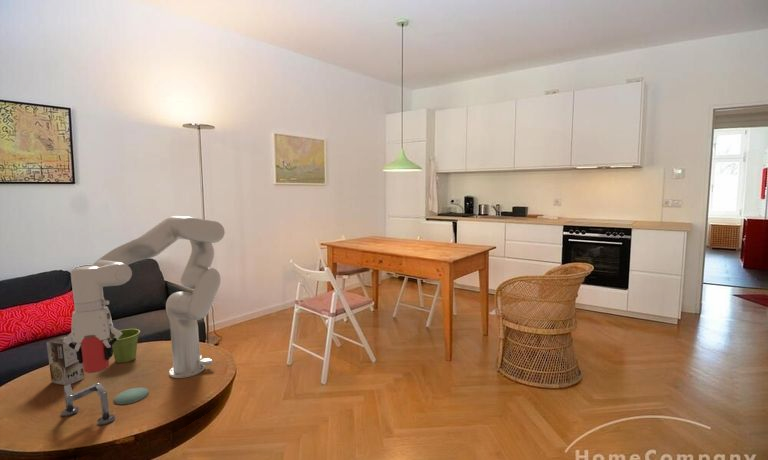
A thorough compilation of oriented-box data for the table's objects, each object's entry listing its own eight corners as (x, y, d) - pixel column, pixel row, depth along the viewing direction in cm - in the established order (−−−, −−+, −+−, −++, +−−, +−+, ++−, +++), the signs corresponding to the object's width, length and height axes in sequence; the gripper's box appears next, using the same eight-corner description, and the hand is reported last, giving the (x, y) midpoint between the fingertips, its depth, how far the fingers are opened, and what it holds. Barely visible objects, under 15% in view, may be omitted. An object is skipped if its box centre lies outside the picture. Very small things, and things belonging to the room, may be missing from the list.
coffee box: (85, 378, 151) (81, 337, 149) (67, 386, 145) (62, 343, 143) (68, 374, 154) (64, 334, 152) (50, 382, 148) (45, 341, 146)
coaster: (151, 387, 143) (151, 385, 143) (143, 401, 134) (143, 399, 134) (120, 391, 140) (120, 390, 140) (109, 406, 131) (109, 404, 131)
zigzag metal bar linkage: (126, 401, 134) (124, 374, 133) (111, 423, 121) (109, 394, 120) (65, 410, 129) (62, 382, 128) (43, 434, 116) (40, 404, 115)
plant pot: (101, 365, 162) (98, 338, 161) (124, 353, 174) (121, 328, 172) (127, 366, 160) (125, 339, 159) (148, 354, 172) (146, 329, 171)
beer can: (96, 374, 123) (91, 337, 122) (78, 373, 124) (74, 336, 123) (114, 365, 129) (110, 329, 128) (97, 363, 131) (93, 328, 129)
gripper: (125, 299, 130) (130, 351, 133) (62, 305, 126) (69, 359, 128) (117, 306, 123) (122, 361, 125) (50, 312, 118) (57, 369, 121)
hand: (95, 359), depth 126 cm, fingers closed on beer can, 6 cm apart
